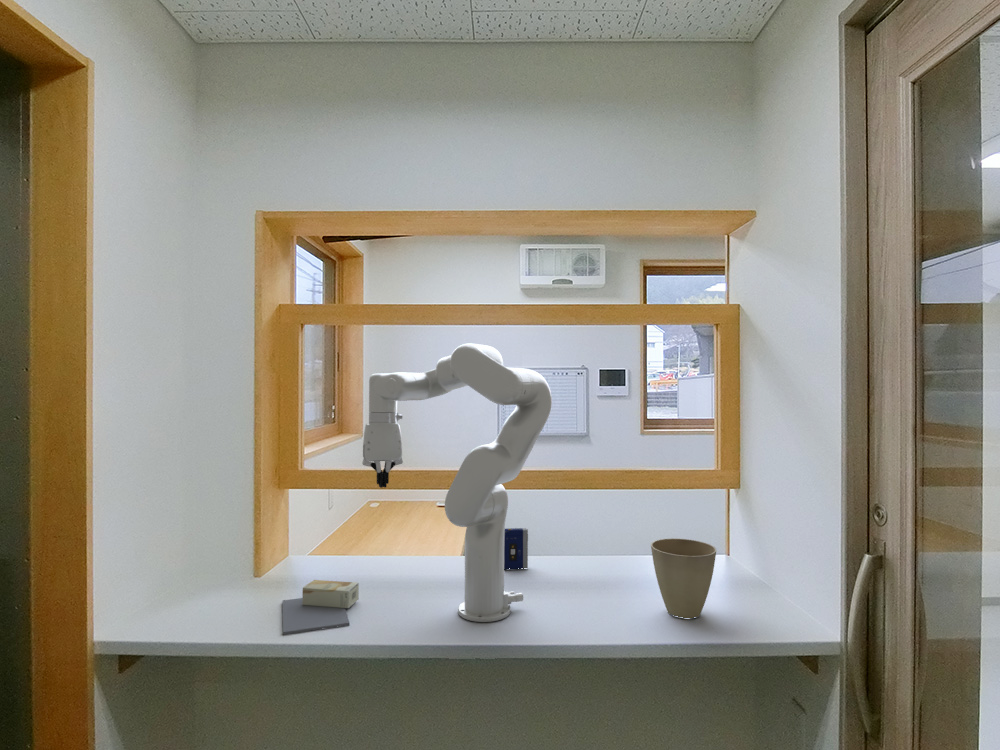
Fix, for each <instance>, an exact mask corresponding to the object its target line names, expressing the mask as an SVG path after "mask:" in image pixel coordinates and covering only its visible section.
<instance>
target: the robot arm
mask: <svg viewBox="0 0 1000 750" xmlns="http://www.w3.org/2000/svg"><path fill="white" fill-rule="evenodd" d="M368 383H369V384H368V385H369V386H368V423H366V424H365V426H364V433H363V441H362V442H363V443H362V444H363V445H362V457H363V459H362V466H364V467H365V466H366V467H369V468H372V469H373V470H374V471H375V472H376V484H377V485H378V487H379V488H387V485H388V484H389V482H390V481H389V479H390V475H389V473H390V472H391V471H392V469H393V468H394V467H395V466H400V465H403V463H404V462H403V442H402V440H403V439H402V431H401V426H400V423H398V421H399V420H403V414H399V413H398V401H399V402H402V401H425V400H428V399H432V398H437V397H439V396H440V397H441V396H443V395H445V394H448V393H451V392H452V391H453V390H456V389H461V388H464V387H467V386H468V387H470V388H471V389H472V390H474V391H475V392H477V393H478V394H479V395H481V396H483V397H484V398H485V399H487V400H489V401H490V402H492V403H494V404H497V405H500V406H515V408H514V409H513V411H512V412H511V413H510V415H509V416H508V417H507V418H506V420H505V421H504V423H503V425H502V427H501V430H499V433H498V435H497V436H496V438H495V440H493V441H492V442H491V443H486V444H482V445H478V446H476V447H474V448H473V449H471V451H469V452H468V454H466V456H465V458H464V459H463V461H462V463H461V465H460V467H459V468H458V471H457V473H456V475H455V477H454V479H453V481H452V482H451V485H450V486H449V488H448V491H447V493H446V496H445V500H444V512H445V515H446V518H447V519H448V521H449V522H450V523H452V525H454V526H457V527H458V528H459V527H460V528H466V529H465V534H464V601H463V602H461V603H460V604H459V605H458V607H457V613H458V615H459V617H461V618H462V619H465V620H467V621H472V622H477V623H493V622H496V621H501V620H504V619H506V618H507V617H508V616H509V615H511V612H512V611H511V610H512V609H511V604H512V603H517V602H523V601H524V594H523V592H517V593H516V592H515V591H513V590H512V591H505V570H504V534H505V529H506V520H507V513H508V507H509V498H508V497H509V496H508V492H507V490H506V488H505V487H504V485H503V484H506V483H509V482H511V481H513V480H515V479H516V478H517V477H518V476H519V474H520V472H521V471H522V469H523V467H524V465H525V463H526V462H527V459H528V458H529V456H530V453H531V452H532V451H533V448H534V446H535V444H536V442H537V441H538V438H539V437H540V434H541V432H542V430H543V429H544V427H545V425H546V423H547V421H548V419H549V416H550V414H551V410H552V406H553V397H552V392H551V388H550V386H549V383H548V382H547V380H546V378H545V377H544V376H543V375H541V374H540V373H539V372H537V371H535V370H533V369H529V368H523V367H507V366H505V365H504V360H503V357H502V354H501V352H500V351H499V350H498V349H497V348H495V347H493V346H490V345H486V344H480V343H479V344H478V343H471V342H468V343H463V344H461V345H459V346H457V347H456V348H455V349H454V350H453V351H452V352H451V354H450V355H448V356H447V355H446V356H443V357H441V358H440V359H438V361H437V363H436V366H435V368H434V369H431V370H427V371H423V372H409V371H406V372H405V371H403V372H401V371H399V372H398V371H397V372H391V373H373V374H371V375H370V377H369V381H368ZM381 462H384V466H383V469H382V465H381Z"/></svg>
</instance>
